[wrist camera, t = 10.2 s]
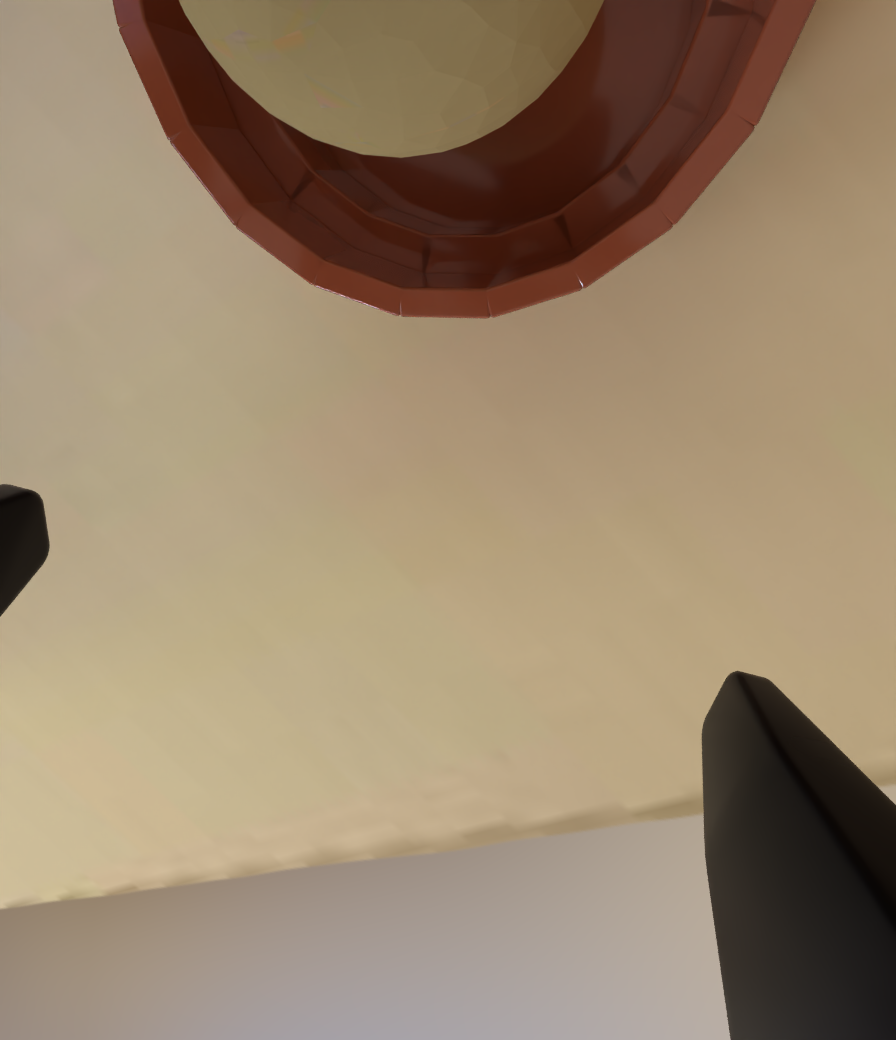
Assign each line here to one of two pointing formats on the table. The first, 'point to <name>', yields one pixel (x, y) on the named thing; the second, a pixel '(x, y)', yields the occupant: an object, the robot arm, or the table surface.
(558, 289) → the bowl
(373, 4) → the light bulb
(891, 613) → the table surface
